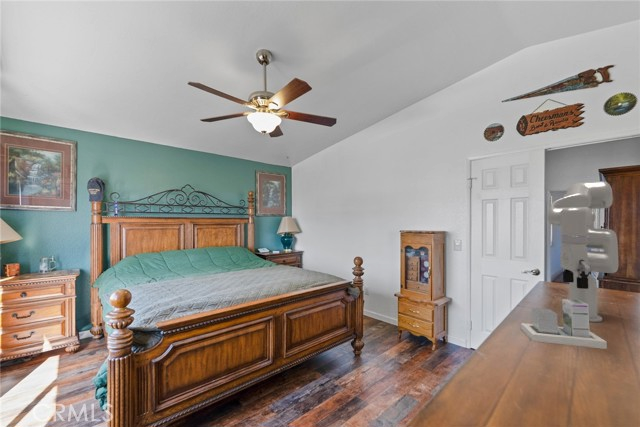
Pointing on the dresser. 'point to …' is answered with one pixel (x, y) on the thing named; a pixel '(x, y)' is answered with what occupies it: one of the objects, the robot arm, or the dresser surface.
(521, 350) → the dresser surface
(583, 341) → the pallet
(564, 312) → the syrup box
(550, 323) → the metal block
